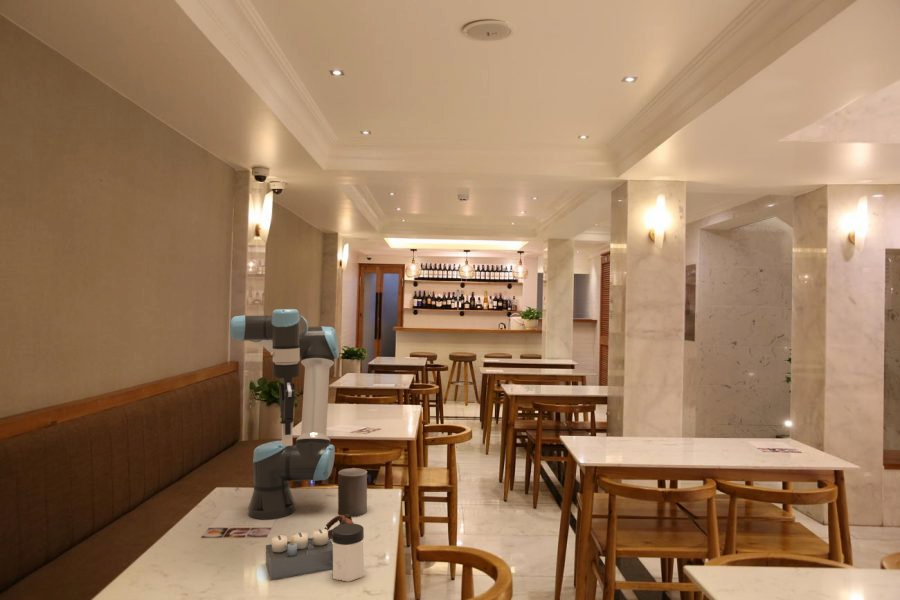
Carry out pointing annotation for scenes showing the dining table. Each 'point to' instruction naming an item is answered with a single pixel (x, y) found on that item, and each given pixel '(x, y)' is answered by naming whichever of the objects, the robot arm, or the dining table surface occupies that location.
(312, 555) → the panel
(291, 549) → the potentiometer
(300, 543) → the knob middle
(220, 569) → the dining table surface
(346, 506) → the pillar candle
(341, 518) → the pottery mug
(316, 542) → the knob right
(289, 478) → the robot arm
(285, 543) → the knob left
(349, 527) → the jar
